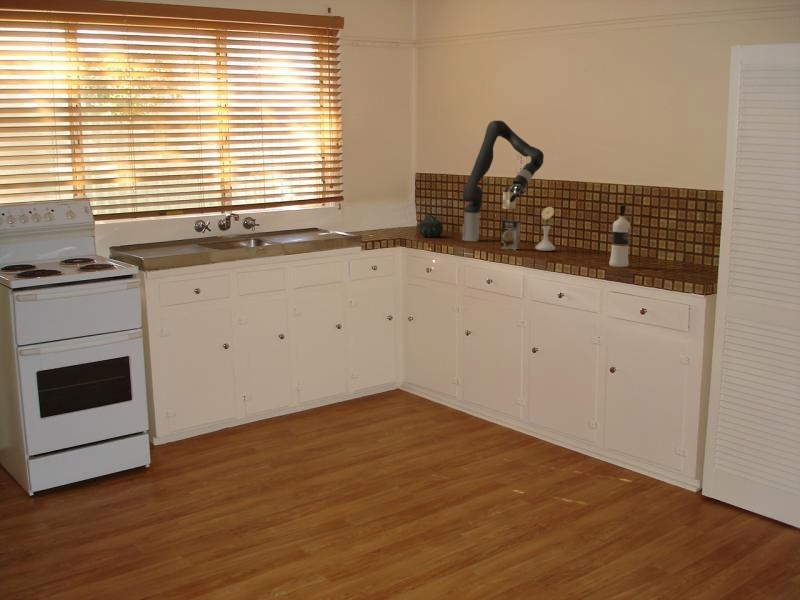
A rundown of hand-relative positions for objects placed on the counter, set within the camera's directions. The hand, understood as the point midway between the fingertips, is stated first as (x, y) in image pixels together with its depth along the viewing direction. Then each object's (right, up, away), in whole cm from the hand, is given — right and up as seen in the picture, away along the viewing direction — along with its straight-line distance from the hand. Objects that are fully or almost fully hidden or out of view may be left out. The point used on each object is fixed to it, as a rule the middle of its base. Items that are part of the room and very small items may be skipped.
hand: (507, 201), depth 494 cm
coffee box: (+2, -27, +5) cm, 27 cm away
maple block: (+1, -4, +2) cm, 5 cm away
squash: (-41, -16, +62) cm, 76 cm away
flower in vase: (+22, -28, +1) cm, 35 cm away
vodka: (+48, -39, -58) cm, 85 cm away
